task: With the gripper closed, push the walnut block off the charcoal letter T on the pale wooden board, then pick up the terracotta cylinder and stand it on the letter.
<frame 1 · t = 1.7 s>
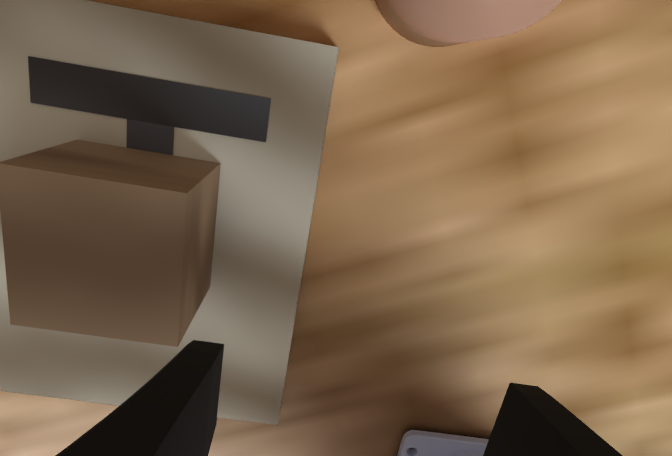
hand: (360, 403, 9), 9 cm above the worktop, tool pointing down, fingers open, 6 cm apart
letter board: (156, 232, 18), on the worktop
walnut block: (147, 217, 17), point 1 cm above the worktop, touching letter board
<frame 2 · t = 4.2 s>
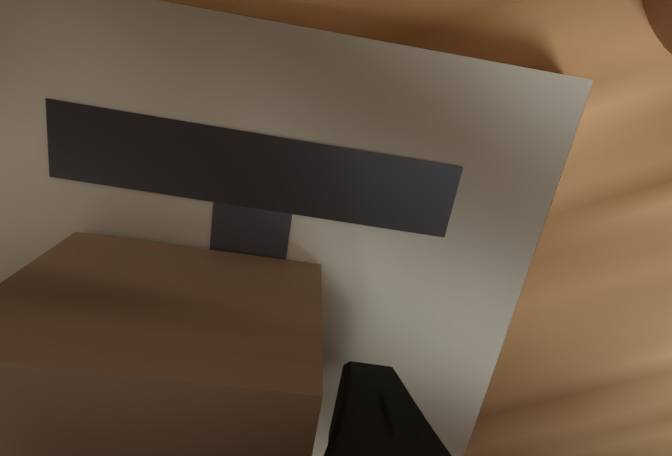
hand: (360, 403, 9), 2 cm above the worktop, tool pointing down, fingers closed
letter board: (241, 360, 11), on the worktop
walnut block: (194, 349, 10), point 1 cm above the worktop, touching gripper
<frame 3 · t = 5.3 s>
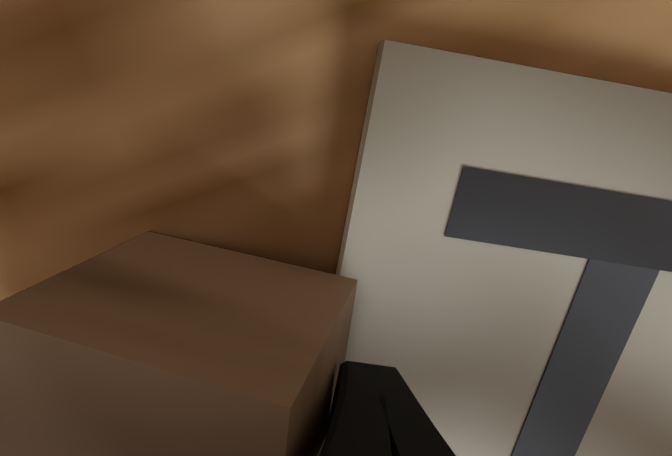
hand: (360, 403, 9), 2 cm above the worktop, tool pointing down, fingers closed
letter board: (536, 398, 12), on the worktop
walnut block: (241, 349, 11), point 1 cm above the worktop, tilted 16°, touching gripper
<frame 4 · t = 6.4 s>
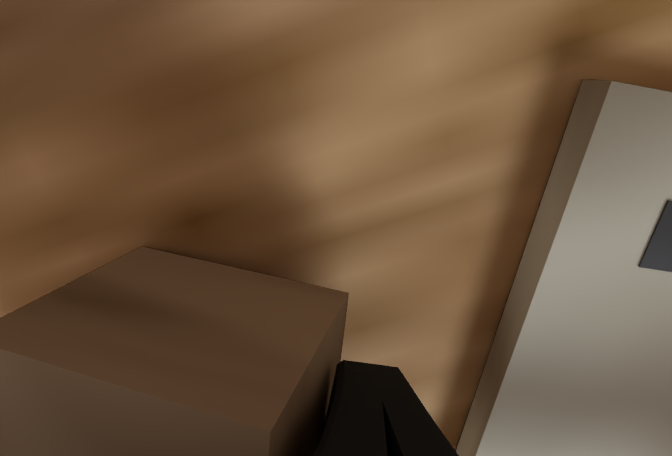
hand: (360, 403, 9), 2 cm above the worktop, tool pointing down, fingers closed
walnut block: (236, 363, 11), point 1 cm above the worktop, tilted 17°, touching gripper
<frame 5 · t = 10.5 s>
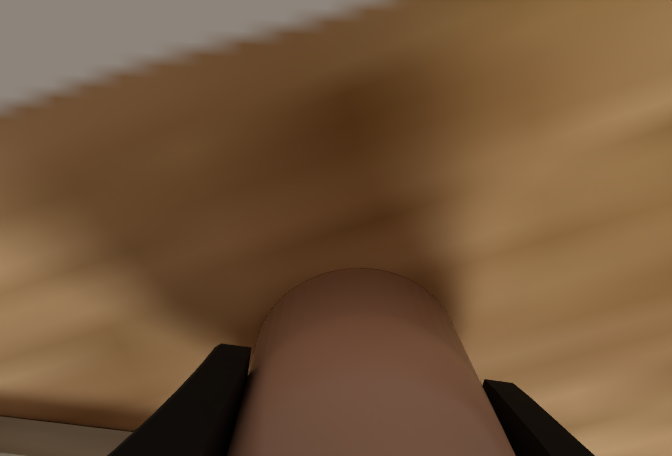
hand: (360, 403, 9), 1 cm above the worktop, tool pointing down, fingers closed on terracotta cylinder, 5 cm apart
terracotta cylinder: (356, 360, 11), on the worktop, touching gripper
when the fingers open (4 cm above the worktop, at t = 14.6 s): terracotta cylinder drops 1 cm, resting on letter board.
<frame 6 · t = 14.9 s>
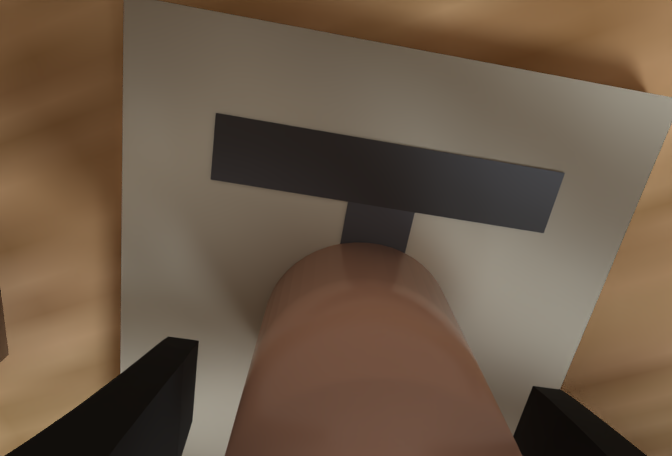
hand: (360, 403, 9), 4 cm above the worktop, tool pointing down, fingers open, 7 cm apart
terracotta cylinder: (356, 328, 12), point 1 cm above the worktop, touching letter board
letter board: (346, 342, 13), on the worktop
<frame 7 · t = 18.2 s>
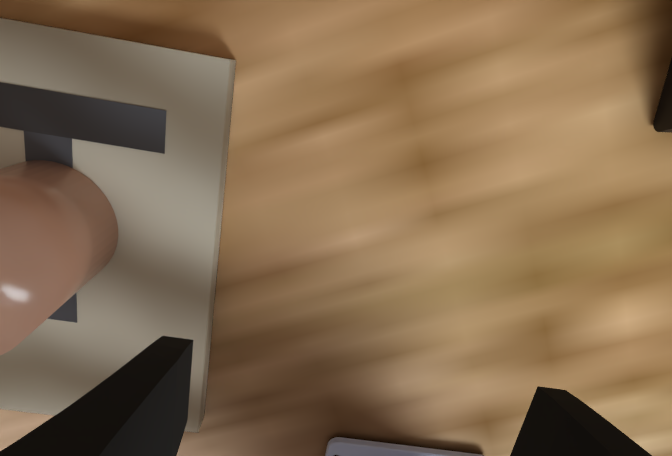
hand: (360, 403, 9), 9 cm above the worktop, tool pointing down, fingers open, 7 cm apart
terracotta cylinder: (52, 223, 17), point 1 cm above the worktop, touching letter board
letter board: (68, 242, 18), on the worktop
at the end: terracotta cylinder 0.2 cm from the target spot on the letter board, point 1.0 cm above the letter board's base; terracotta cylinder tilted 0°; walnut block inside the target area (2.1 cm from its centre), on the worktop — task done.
